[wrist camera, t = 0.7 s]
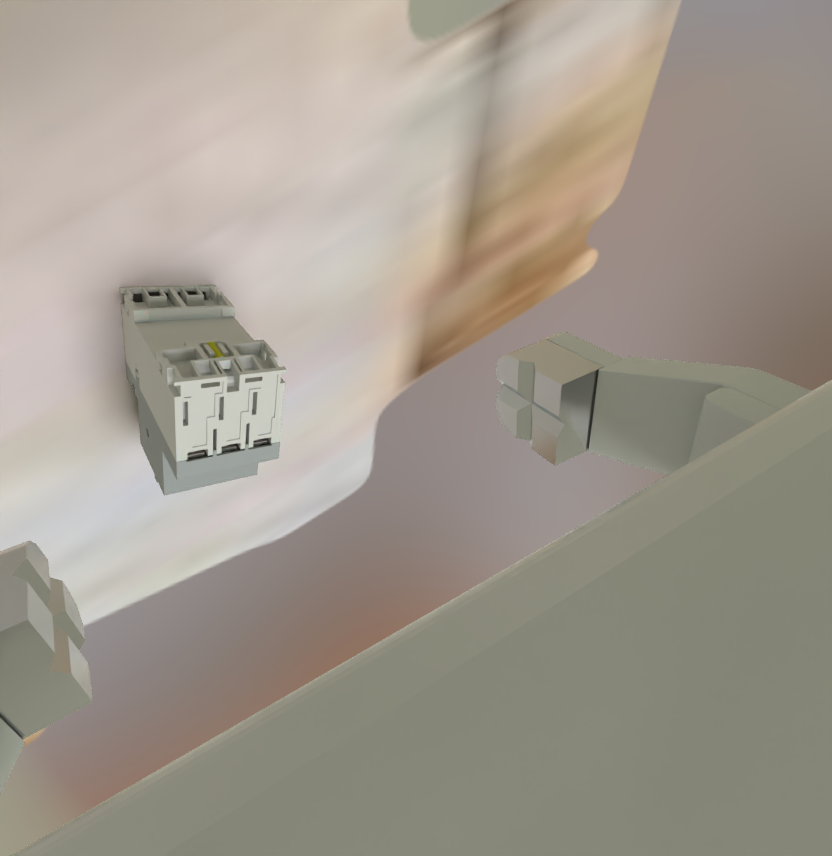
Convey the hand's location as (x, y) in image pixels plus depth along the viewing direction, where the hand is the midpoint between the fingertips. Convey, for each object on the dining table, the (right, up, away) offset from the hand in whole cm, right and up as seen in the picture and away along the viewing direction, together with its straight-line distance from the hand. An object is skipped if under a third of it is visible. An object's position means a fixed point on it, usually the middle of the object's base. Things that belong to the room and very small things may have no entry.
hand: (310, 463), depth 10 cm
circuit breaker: (-20, +7, +40) cm, 46 cm away
